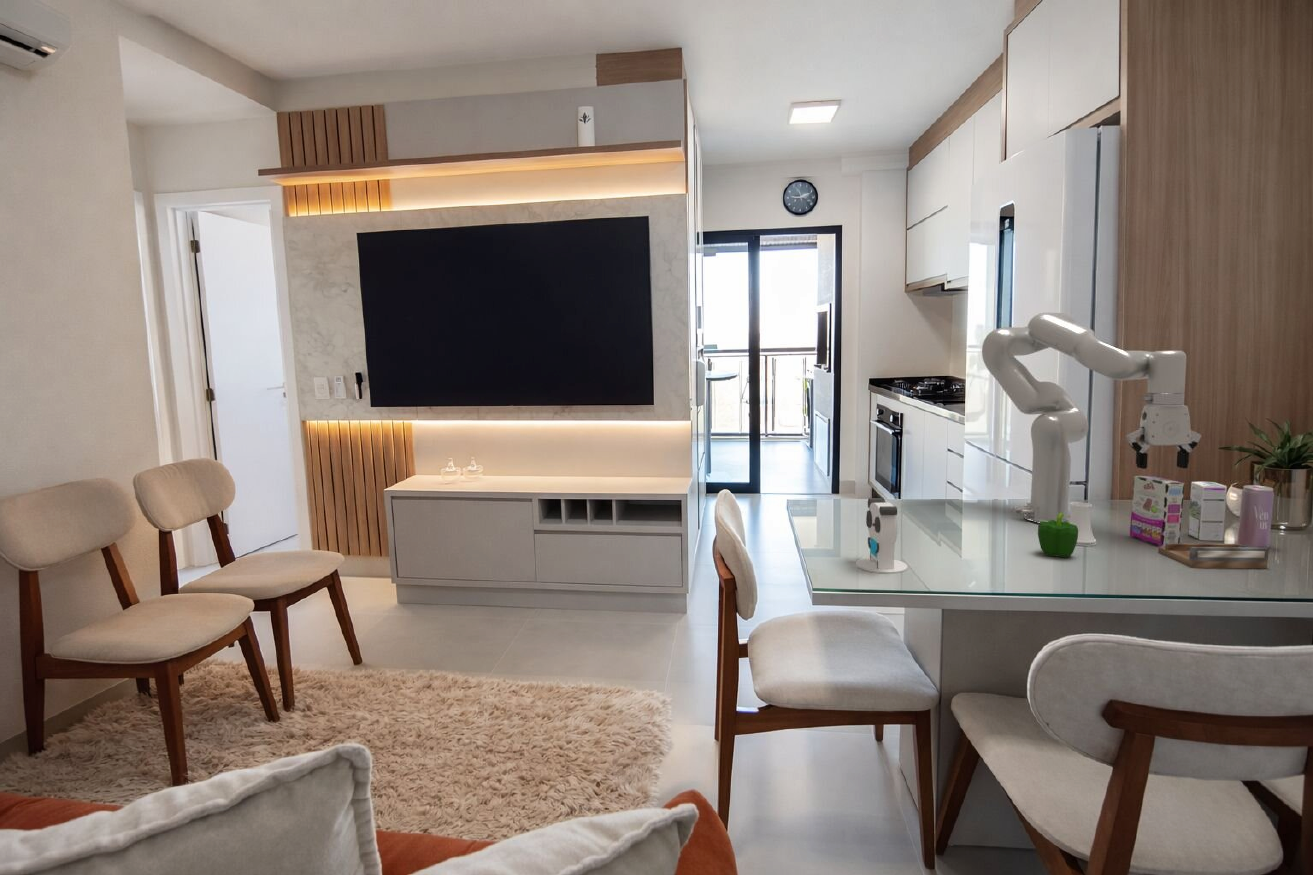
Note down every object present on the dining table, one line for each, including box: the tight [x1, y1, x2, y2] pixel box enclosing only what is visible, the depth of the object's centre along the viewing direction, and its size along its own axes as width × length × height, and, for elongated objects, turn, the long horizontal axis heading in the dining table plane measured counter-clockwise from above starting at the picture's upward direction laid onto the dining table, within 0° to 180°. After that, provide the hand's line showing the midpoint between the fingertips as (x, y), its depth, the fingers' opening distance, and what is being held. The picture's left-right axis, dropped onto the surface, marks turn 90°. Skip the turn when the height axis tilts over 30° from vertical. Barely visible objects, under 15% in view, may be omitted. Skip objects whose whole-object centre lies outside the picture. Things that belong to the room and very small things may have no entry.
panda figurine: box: [855, 497, 909, 575], centre depth 162 cm, size 12×11×15 cm
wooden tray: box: [1157, 542, 1270, 569], centre depth 163 cm, size 16×12×4 cm
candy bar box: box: [1129, 475, 1185, 547], centre depth 179 cm, size 11×5×16 cm, turn 5°
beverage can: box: [1237, 484, 1275, 549], centre depth 173 cm, size 6×6×15 cm
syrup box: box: [1187, 481, 1228, 542], centre depth 182 cm, size 6×6×14 cm
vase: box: [1069, 501, 1097, 547], centre depth 180 cm, size 8×8×10 cm
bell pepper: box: [1037, 513, 1078, 558], centre depth 169 cm, size 8×8×10 cm
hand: (1161, 467), depth 177 cm, fingers open, 9 cm apart
